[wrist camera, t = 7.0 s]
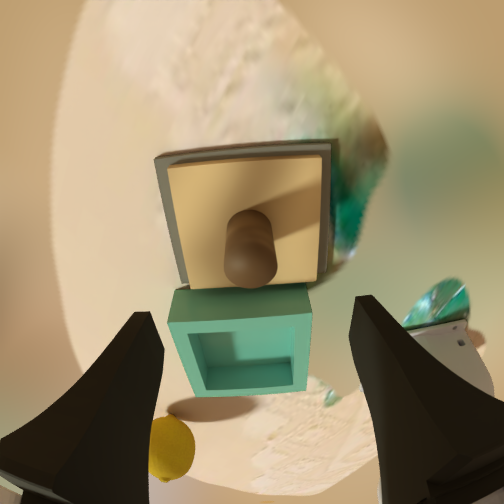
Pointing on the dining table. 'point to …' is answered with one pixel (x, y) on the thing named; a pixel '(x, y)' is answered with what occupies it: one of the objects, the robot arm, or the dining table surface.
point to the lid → (248, 220)
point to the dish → (243, 338)
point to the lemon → (170, 448)
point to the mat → (246, 152)
